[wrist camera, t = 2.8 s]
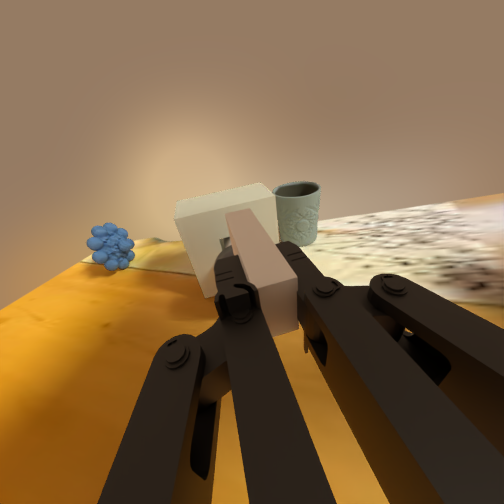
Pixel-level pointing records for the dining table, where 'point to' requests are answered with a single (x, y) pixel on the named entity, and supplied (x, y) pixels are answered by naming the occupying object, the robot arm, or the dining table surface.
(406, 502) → the robot arm
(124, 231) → the grapes
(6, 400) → the dining table surface
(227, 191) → the cream rectangular block
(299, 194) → the grey-green cup
